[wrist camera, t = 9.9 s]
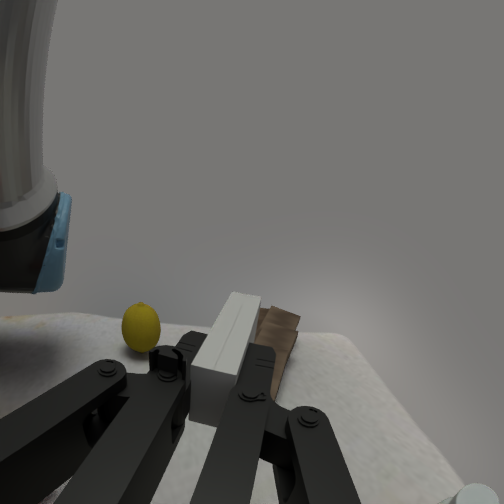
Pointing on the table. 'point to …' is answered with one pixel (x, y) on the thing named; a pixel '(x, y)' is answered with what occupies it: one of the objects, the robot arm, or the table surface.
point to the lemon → (141, 327)
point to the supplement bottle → (473, 495)
